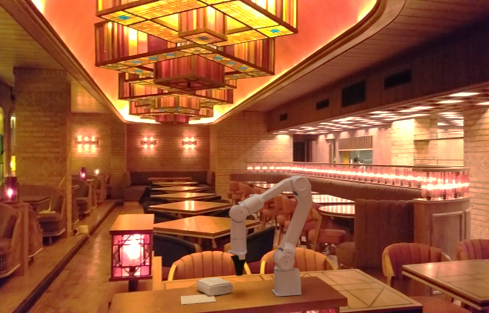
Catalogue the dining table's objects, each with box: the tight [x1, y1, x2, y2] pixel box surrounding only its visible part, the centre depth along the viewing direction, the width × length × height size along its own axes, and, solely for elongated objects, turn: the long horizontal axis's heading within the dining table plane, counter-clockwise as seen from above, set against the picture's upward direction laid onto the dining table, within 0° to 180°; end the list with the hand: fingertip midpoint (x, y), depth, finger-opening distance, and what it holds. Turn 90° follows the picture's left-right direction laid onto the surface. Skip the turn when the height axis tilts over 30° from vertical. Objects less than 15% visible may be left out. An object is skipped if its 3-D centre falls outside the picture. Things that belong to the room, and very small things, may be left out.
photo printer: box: [196, 277, 234, 296], centre depth 157 cm, size 10×4×12 cm
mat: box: [179, 293, 217, 306], centre depth 148 cm, size 12×9×1 cm
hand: (239, 275), depth 151 cm, fingers closed
